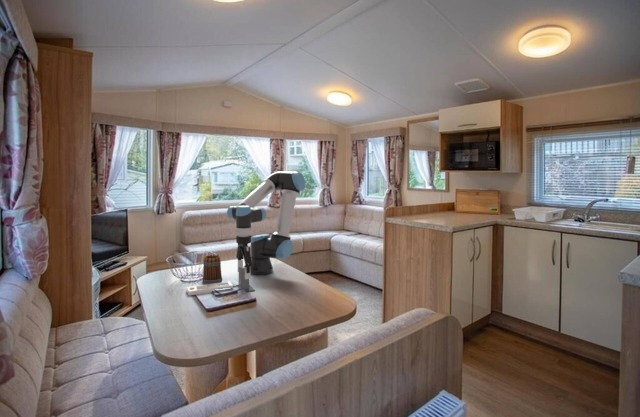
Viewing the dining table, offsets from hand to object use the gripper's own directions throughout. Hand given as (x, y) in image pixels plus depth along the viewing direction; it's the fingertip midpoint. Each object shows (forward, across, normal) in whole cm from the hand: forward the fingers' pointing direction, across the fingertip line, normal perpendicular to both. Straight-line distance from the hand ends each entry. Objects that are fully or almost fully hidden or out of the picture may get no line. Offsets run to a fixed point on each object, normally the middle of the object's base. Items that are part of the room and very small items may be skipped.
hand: (243, 275), depth 185 cm
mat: (+8, 0, 0) cm, 8 cm away
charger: (+7, 0, 0) cm, 7 cm away
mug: (+8, -20, -12) cm, 24 cm away
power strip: (+8, -4, -13) cm, 16 cm away
